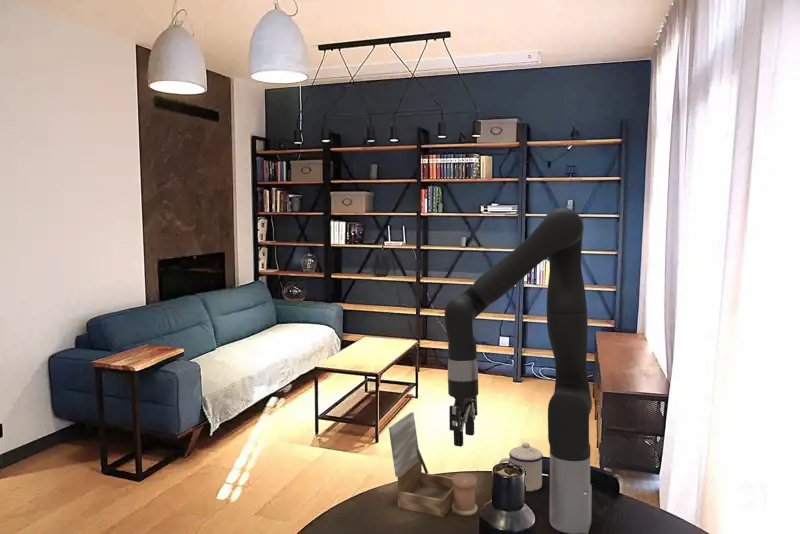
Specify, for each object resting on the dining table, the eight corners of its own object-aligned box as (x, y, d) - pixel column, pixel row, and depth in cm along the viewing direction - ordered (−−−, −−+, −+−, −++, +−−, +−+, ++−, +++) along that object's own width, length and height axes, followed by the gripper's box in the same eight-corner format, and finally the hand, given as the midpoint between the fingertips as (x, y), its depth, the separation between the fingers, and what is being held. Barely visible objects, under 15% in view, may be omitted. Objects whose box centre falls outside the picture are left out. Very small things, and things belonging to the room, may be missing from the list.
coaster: (480, 506, 148) (480, 503, 148) (472, 517, 143) (472, 514, 143) (457, 501, 151) (457, 498, 151) (448, 512, 145) (448, 509, 145)
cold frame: (461, 494, 156) (461, 418, 154) (443, 517, 143) (442, 435, 142) (411, 484, 162) (410, 411, 161) (389, 505, 150) (388, 427, 148)
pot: (480, 503, 148) (480, 475, 148) (472, 514, 143) (472, 485, 142) (457, 498, 151) (457, 471, 151) (448, 509, 146) (448, 480, 145)
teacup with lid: (540, 478, 165) (540, 438, 164) (545, 492, 156) (545, 450, 155) (497, 477, 166) (497, 437, 165) (499, 491, 157) (499, 449, 156)
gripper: (468, 384, 137) (469, 452, 138) (485, 371, 150) (487, 433, 151) (438, 381, 140) (440, 447, 141) (458, 369, 153) (459, 429, 154)
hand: (464, 440), depth 146 cm, fingers open, 8 cm apart
